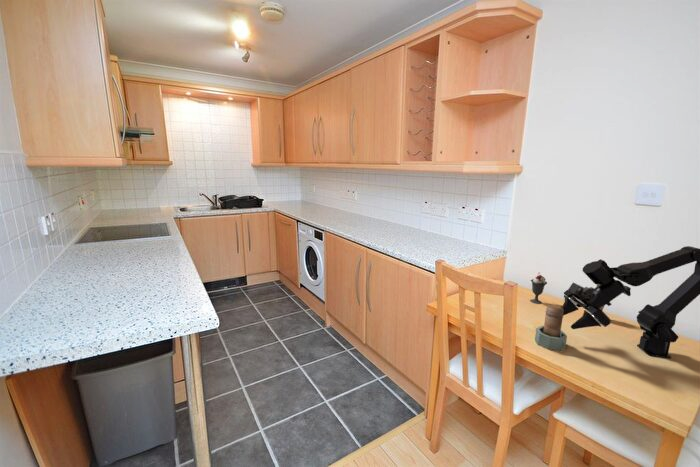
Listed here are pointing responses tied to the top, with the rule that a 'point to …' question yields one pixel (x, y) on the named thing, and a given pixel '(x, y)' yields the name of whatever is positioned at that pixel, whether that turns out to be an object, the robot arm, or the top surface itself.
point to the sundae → (538, 287)
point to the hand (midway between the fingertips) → (564, 321)
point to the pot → (550, 340)
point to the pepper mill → (553, 321)
